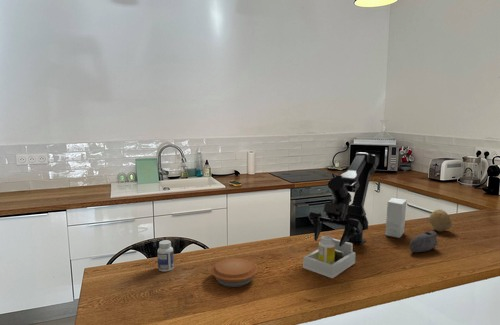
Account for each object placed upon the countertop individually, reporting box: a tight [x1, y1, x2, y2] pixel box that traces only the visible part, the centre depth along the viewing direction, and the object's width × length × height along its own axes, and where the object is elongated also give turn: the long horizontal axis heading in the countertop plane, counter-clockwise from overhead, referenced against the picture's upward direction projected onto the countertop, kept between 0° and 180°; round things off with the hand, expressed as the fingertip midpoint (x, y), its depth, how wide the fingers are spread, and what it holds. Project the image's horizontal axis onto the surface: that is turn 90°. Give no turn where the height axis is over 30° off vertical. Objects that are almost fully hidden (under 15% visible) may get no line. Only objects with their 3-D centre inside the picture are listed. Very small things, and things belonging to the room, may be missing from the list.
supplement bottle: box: [318, 234, 335, 265], centre depth 122 cm, size 6×6×10 cm
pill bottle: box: [157, 239, 175, 273], centre depth 123 cm, size 5×5×10 cm
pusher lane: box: [302, 238, 356, 279], centre depth 125 cm, size 16×12×7 cm
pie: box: [210, 257, 259, 288], centre depth 115 cm, size 16×16×5 cm
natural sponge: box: [428, 209, 453, 232], centre depth 160 cm, size 9×9×10 cm
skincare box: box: [385, 197, 407, 239], centre depth 156 cm, size 8×7×16 cm
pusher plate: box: [334, 249, 344, 262], centre depth 126 cm, size 1×8×4 cm, turn 47°
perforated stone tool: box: [408, 230, 438, 253], centre depth 138 cm, size 15×5×7 cm, turn 117°
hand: (327, 243), depth 123 cm, fingers open, 9 cm apart
